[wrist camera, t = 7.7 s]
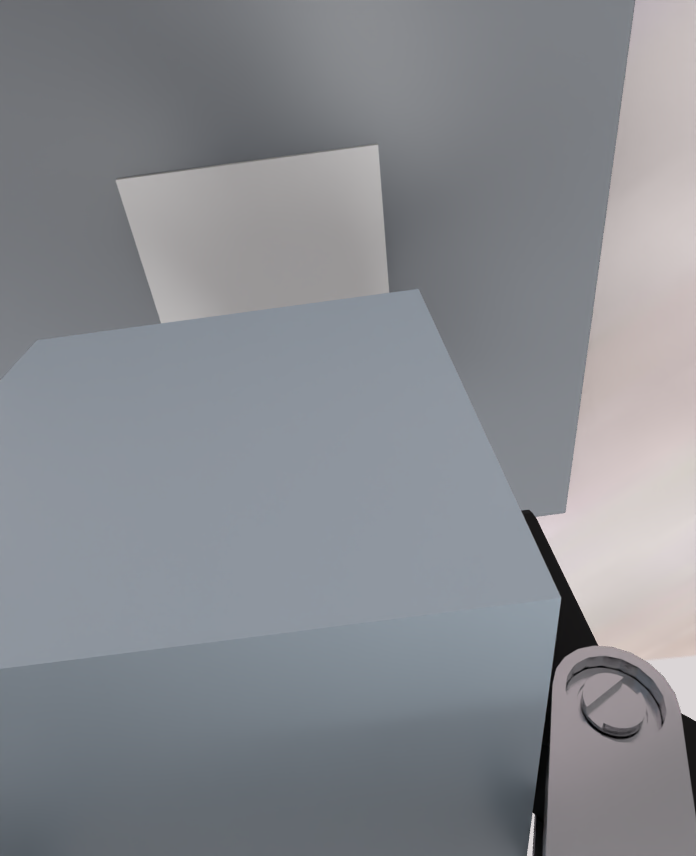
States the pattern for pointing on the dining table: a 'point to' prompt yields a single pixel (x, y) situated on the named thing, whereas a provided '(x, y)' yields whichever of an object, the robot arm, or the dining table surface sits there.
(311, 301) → the baseplate
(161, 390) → the blue brick
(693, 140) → the dining table surface
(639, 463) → the dining table surface
